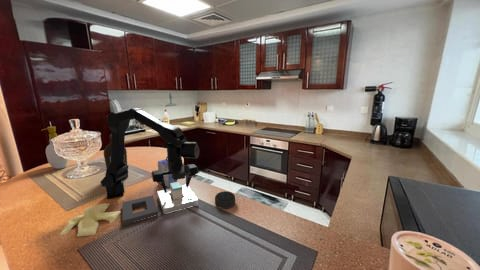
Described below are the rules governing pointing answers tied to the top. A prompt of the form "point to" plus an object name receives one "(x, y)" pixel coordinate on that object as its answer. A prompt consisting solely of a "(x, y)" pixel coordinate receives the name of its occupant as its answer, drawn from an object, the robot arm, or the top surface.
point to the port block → (182, 203)
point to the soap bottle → (50, 153)
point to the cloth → (91, 220)
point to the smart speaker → (225, 199)
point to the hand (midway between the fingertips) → (176, 190)
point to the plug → (176, 191)
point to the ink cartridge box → (164, 167)
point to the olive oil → (108, 155)
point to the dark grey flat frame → (131, 217)
